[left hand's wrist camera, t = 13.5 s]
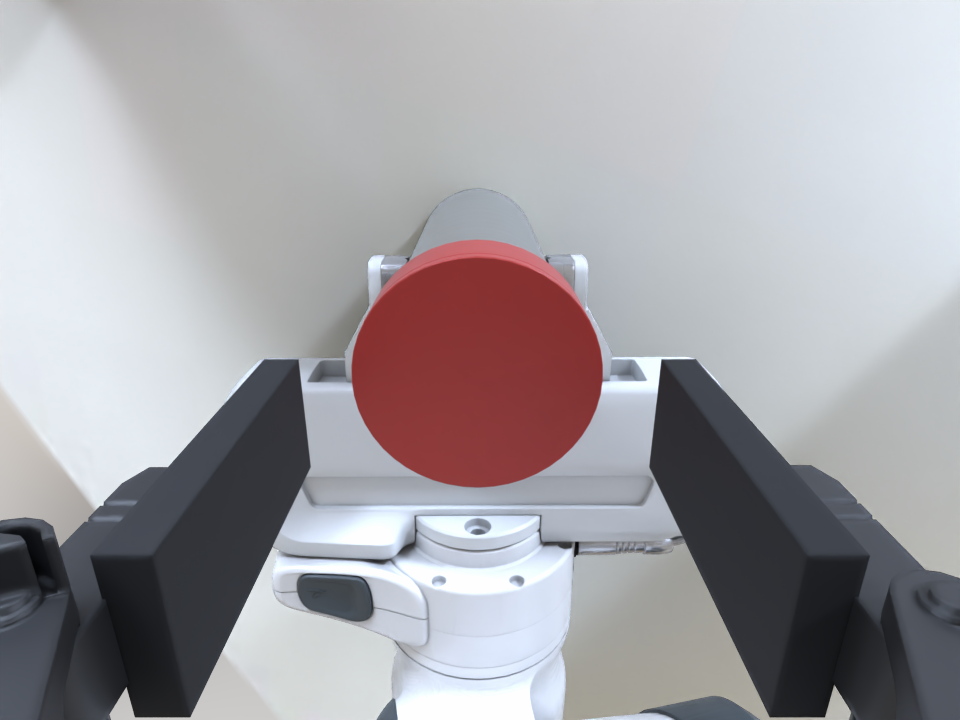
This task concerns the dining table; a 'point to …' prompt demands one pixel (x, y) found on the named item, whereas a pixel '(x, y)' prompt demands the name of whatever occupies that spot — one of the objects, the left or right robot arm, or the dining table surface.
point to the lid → (477, 365)
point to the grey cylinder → (477, 222)
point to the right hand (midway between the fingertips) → (476, 257)
